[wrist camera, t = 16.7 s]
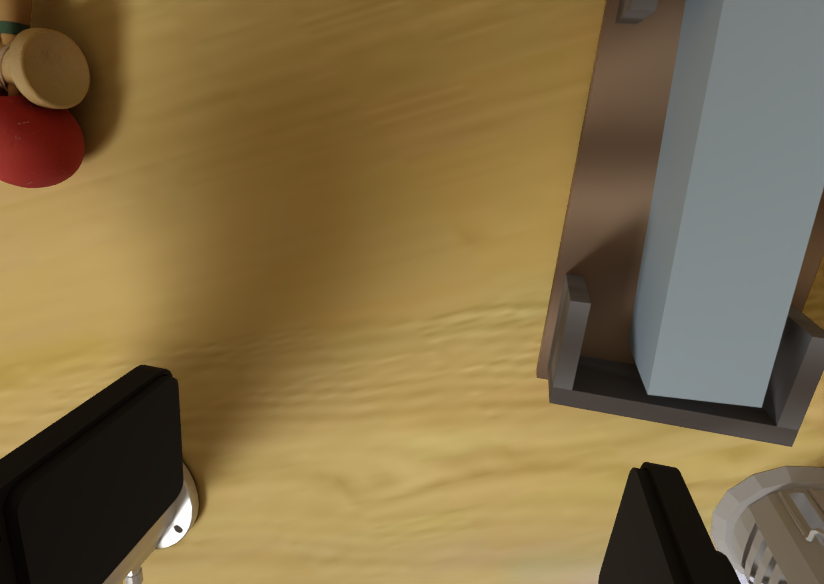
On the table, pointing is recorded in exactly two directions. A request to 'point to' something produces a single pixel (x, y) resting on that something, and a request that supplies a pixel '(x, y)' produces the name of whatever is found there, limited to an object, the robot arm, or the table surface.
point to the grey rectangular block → (731, 199)
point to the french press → (774, 526)
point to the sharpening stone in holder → (624, 241)
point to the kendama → (38, 100)
